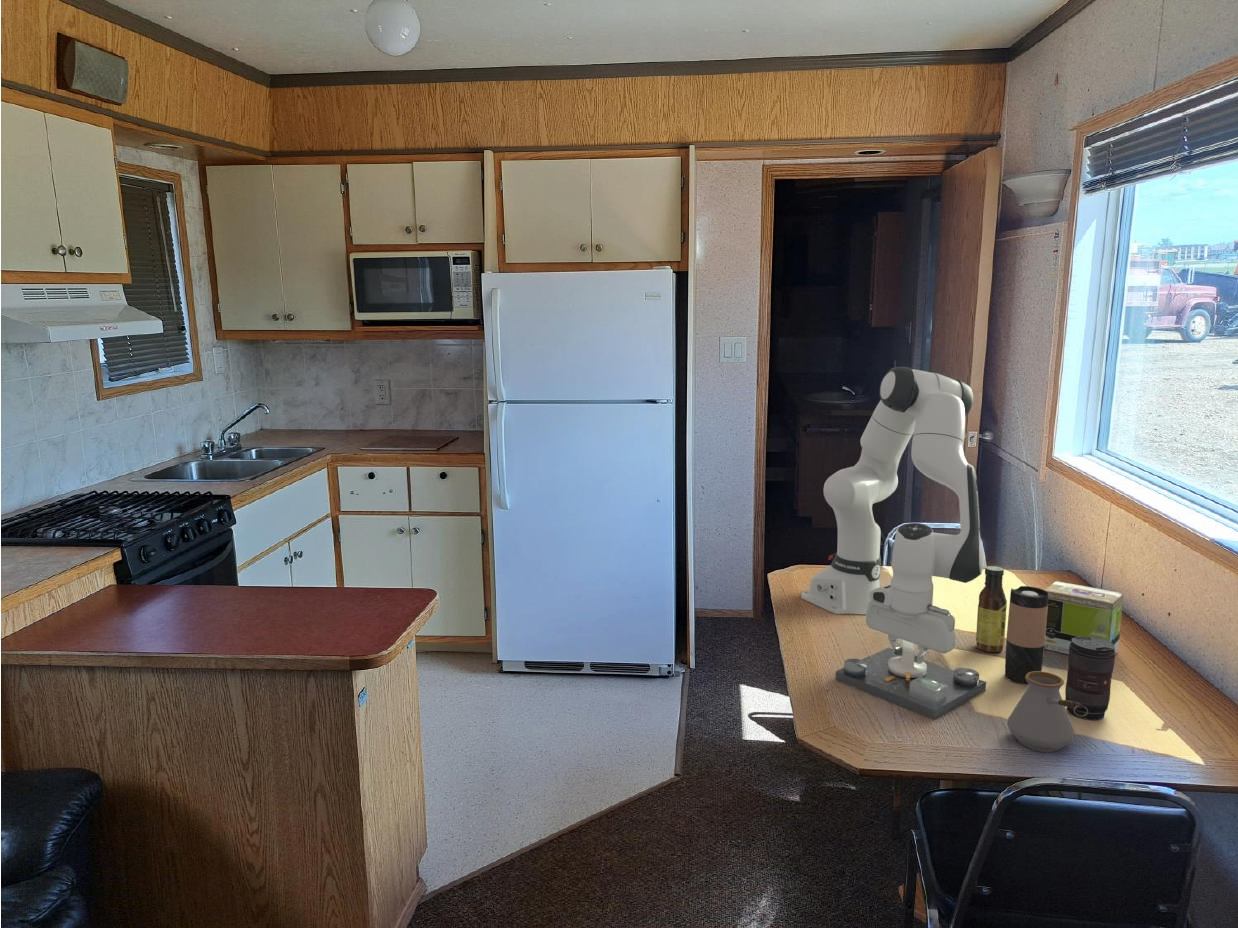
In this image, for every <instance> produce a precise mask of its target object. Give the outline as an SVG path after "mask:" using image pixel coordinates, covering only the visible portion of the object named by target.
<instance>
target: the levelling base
mask: <svg viewBox="0 0 1238 928" xmlns="http://www.w3.org/2000/svg"><path fill="white" fill-rule="evenodd" d="M892 651H893V648H892V647H887V648H885V649H882V650H881V651H878V652H876V653H874V654H872V655H869V656H867V657H865V658H862V659H861V658H860V659H859V658H848V659H845V660H844V662H843V667H842V668H840V669H837V670H836V671H835V679H834V680H835V681H837V680H838V681H837V682H840V681H841V682H840V683H842V682H844V683H843V684H845V683H846V684H845V685H847V684H848V686H850V687H852V686H854V687H853V688H855V687H856V688H855V689H857V688H858V690H860V691H862V690H864V691H863V692H865V693H867V692H868V693H867V694H870V695H873V696H874V695H875V697H876V698H880V699H882V700H885V701H887V702H890V703H892V704H895V705H897V706H898V707H899V706H900V707H902V708H904V709H908V710H910V711H911V712H915V713H916V714H919V715H921V716H925V717H927V718H930V719H931V720H936V719H937V718H939V717H941V716H943V715H945V714H947V713H949V712H950V711H952V710H953V709H955V708H957V707H960V706H961V705H962V704H964V703H967V702H968V701H970V700H972V699H973V698H976V696H978V695H980V694H983V693H984V692H986V690H987V681H986V680H982V679H981V678H980V673H979V672H978V671H977V670H975V669H973V668H970V667H969V668H968V667H964V666H963V667H956V668H954V669H951V668H948V667H945V666H943V665H939V664H936V663H935V662H934V663H933V662H930V661H929V660H925V659H924V660H923V662H925V663H926V665H927V669H926V674H925V675H924V676H919V677H918V678H910V681H908V680H906V677H901V676H898V675H895V674H893V673H891V672H890V671H889V670H888V661H889V659H891V658H893V657H897V656H896V655H893V654H892ZM901 656H902V655H901Z"/></svg>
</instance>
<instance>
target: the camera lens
mask: <svg viewBox="0 0 1238 928" xmlns="http://www.w3.org/2000/svg"><path fill="white" fill-rule="evenodd" d="M1067 655H1068V658H1067V665H1068V666H1067V675H1066V682H1065V692H1064V694H1065V696H1064V697H1065V699H1064V700H1071V701H1073V702H1074V701H1076V702H1078V703H1081V704H1082V705H1083V706H1084V707H1082V708H1077V709H1075V713H1076V714H1077V715H1076V714H1075V713H1074V708H1073V707H1071V708H1069V707H1066V711H1067V713H1069V714H1070V715H1072V716H1074V717H1076V718H1079V719H1083V720H1086V721H1087V720H1088V721H1097V720H1098V721H1099V720H1102V719H1103V718H1105V714H1106V712H1107V710H1108V709H1109V704H1110V699H1111V685H1112V677H1113V673H1114V669H1115V658H1116V654H1115V646H1114V645H1113V644H1112V643H1110V642H1108V641H1106V640H1103V639H1099V638H1095V637H1086V636H1080V637H1074V638H1072V640H1071V643H1070V646H1069V654H1067ZM1085 707H1086V708H1087V710H1088V714H1087V715H1085V714H1086V713H1087V710H1086V708H1085ZM1078 715H1080V716H1078ZM1083 715H1085V716H1083ZM1081 716H1082V717H1081Z"/></svg>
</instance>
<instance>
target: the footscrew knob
mask: <svg viewBox="0 0 1238 928" xmlns="http://www.w3.org/2000/svg"><path fill="white" fill-rule="evenodd" d="M901 641H902V642H901V643H902V644H901V647H902V656H897V657H893V658H891V659H889V661H888V670H889V671H890V672H891V673H893V674H895V675H898V676H901V677H906V680H908V681H910V678H918V677H919V676H924V675H925V674H926V669H927V665H926V663H925V662H923V663H921V664H918V663H915V662H914V654H916V653H915V644H914V643H911V642H908V641H905V640H902V639H901Z"/></svg>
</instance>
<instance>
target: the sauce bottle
mask: <svg viewBox="0 0 1238 928" xmlns="http://www.w3.org/2000/svg"><path fill="white" fill-rule="evenodd" d="M1004 572H1005V570H1004V568H1003V567H999V566H997V565H994V566H993V565H990V566H989V565H988V566H985V568H984V575H985V578H984V579H985V581H984V587H983V588H982V589H981V591H980V592H979V596H978V604H977V617H976V636H975V641H976V648H978V650H980V651H983V652H986V653H999V652H1003V649H1004V645H1005V640H1006V639H1005V638H1006V637H1005V636H1006V620H1007V609H1008V608H1007V607H1008V606H1007V604H1008V599H1007V598H1006V594H1005V591H1004V587H1003V578H1004V577H1003V576H1004V575H1005V573H1004Z"/></svg>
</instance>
